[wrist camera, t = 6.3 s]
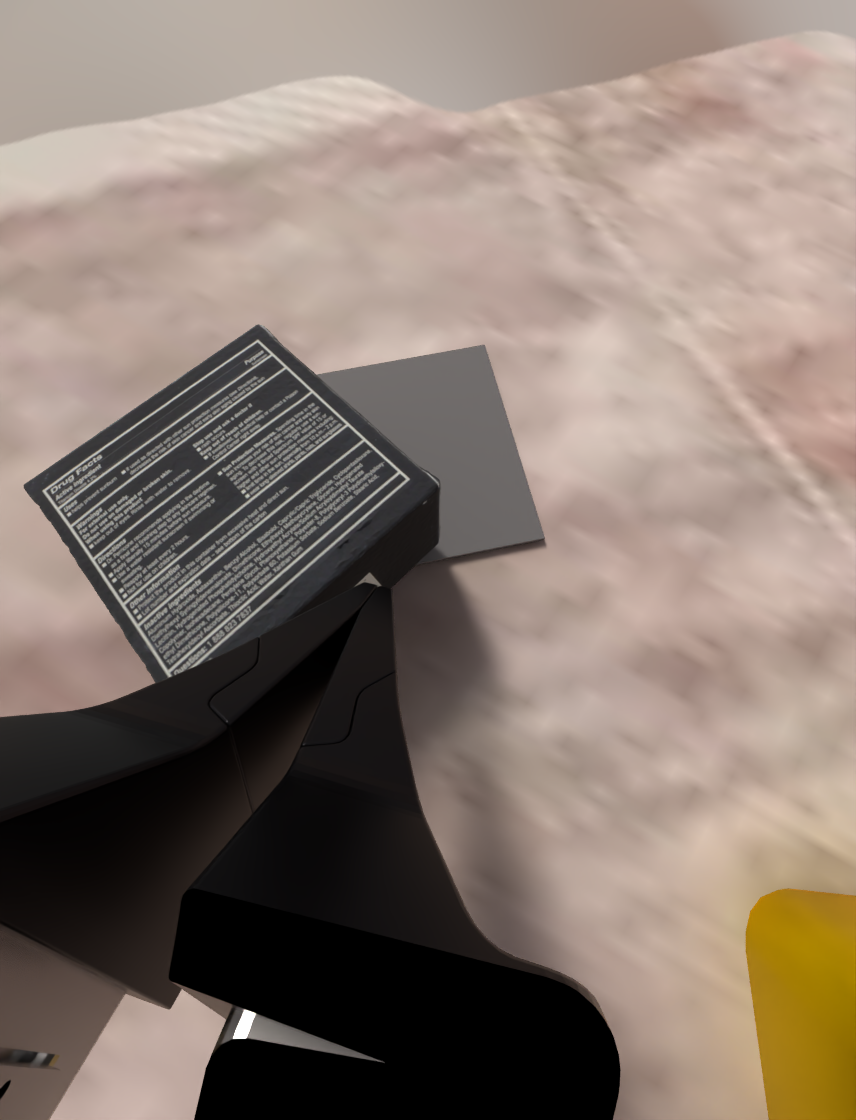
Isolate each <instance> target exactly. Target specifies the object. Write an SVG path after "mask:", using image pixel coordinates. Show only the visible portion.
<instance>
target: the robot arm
mask: <svg viewBox="0 0 856 1120" xmlns="http://www.w3.org/2000/svg"><path fill="white" fill-rule="evenodd" d="M396 673H397V668H396V649H395V630H394V610H393V591H392V589H391V588H388V587H384V586H377V585H375V584H371V583H367V582H363V583H361V584H359V585H357V586H355V587H353V588H351V589H349V590H347V591H345V592H344V593H342V594H340V595H338V596H336V597H334V598H332V599H330V600H328V601H326V602H324V603H322V604H320V605H318V606H316V607H314V608H312V609H310V610H309V611H307V612H305V613H303V614H301V615H299V616H297V617H295V618H293V619H291V620H289V621H287V622H285V623H283V624H281V625H279V626H277V627H275V628H274V629H272V630H270V631H268V632H266V633H264V634H262V635H260V638H259V637H256V638H254V639H252V640H250V641H248V642H246V643H244V644H242V645H240V646H238V647H236V648H234V649H232V650H230V651H228V652H226V653H224V654H222V655H220V656H217V657H215V658H213V659H211V660H208V661H206V662H204V663H201V664H199V665H197V666H195V667H192V668H190V669H188V670H185V671H183V672H181V673H178V674H176V675H173V676H171V677H169V678H166V679H164V680H162V681H159V682H157V683H155V684H152V685H150V686H147V687H145V688H143V689H140V690H138V691H136V692H133V693H131V694H129V695H126V696H124V697H121V698H119V699H116V700H113V701H110V702H107V703H104V704H101V705H97V706H93V707H89V708H85V709H79V710H74V711H66V712H55V713H43V714H31V715H19V716H7V717H0V1120H50V1118H51V1116H52V1115H53V1113H54V1111H55V1110H56V1108H57V1106H58V1105H59V1103H60V1101H61V1100H62V1098H63V1096H64V1095H65V1093H66V1091H67V1090H68V1088H69V1086H70V1085H71V1083H72V1081H73V1080H74V1078H75V1076H76V1075H77V1073H78V1072H79V1070H80V1068H81V1067H82V1065H83V1063H84V1062H85V1060H86V1058H87V1057H88V1055H89V1053H90V1052H91V1050H92V1048H93V1047H94V1045H95V1043H96V1042H97V1040H98V1038H99V1037H100V1035H101V1033H102V1032H103V1030H104V1028H105V1027H106V1025H107V1023H108V1022H109V1020H110V1019H111V1017H112V1015H113V1014H114V1012H115V1010H116V1009H117V1007H118V1005H119V1004H120V1002H121V1000H122V999H123V997H124V995H125V994H128V995H131V996H133V997H136V998H139V999H141V1000H144V1001H147V1002H150V1003H152V1004H155V1005H158V1006H160V1007H163V1008H166V1009H171V1007H172V1005H173V1004H174V1002H175V1000H176V998H177V997H178V995H179V993H180V991H181V989H183V990H184V991H186V992H187V993H189V994H190V995H192V996H193V997H194V998H196V999H197V1000H199V1001H200V1002H202V1003H203V1004H205V1005H206V1006H208V1007H209V1008H210V1009H212V1010H213V1011H215V1012H216V1013H218V1014H219V1015H221V1016H222V1017H224V1018H225V1019H226V1022H225V1024H224V1027H223V1029H222V1031H221V1034H220V1036H219V1039H218V1041H217V1043H216V1046H215V1048H214V1050H213V1053H212V1055H211V1058H210V1060H209V1062H208V1065H207V1067H206V1071H205V1075H204V1079H203V1084H202V1088H201V1092H200V1097H199V1101H198V1105H197V1110H196V1114H195V1118H194V1120H613V1116H614V1112H615V1108H616V1103H617V1099H618V1094H619V1086H620V1061H619V1054H618V1051H617V1047H616V1044H615V1040H614V1037H613V1035H612V1032H611V1030H610V1028H609V1026H608V1023H607V1021H606V1019H605V1017H604V1015H603V1012H602V1010H601V1008H600V1006H599V1004H598V1002H597V1000H596V999H595V997H594V996H593V995H592V994H591V992H589V991H588V990H587V989H586V988H585V987H584V986H583V985H581V984H580V983H578V982H577V981H575V980H574V979H572V978H570V977H568V976H566V975H564V974H562V973H560V972H558V971H555V970H552V969H550V968H547V967H544V966H541V965H538V964H535V963H532V962H529V961H526V960H523V959H520V958H517V957H514V956H512V955H510V954H508V953H506V952H504V951H503V950H501V949H499V948H498V947H497V946H496V945H494V944H493V943H492V942H491V941H489V940H488V939H487V938H486V937H485V936H484V934H483V933H482V932H481V931H480V930H479V929H478V927H477V926H476V925H475V923H474V922H473V920H472V918H471V916H470V915H469V913H468V911H467V909H466V907H465V905H464V903H463V900H462V898H461V896H460V894H459V891H458V889H457V887H456V885H455V883H454V880H453V878H452V876H451V874H450V872H449V869H448V867H447V865H446V863H445V860H444V858H443V856H442V854H441V852H440V849H439V847H438V845H437V843H436V841H435V838H434V836H433V834H432V832H431V829H430V827H429V825H428V823H427V821H426V818H425V815H424V813H423V810H422V806H421V803H420V800H419V796H418V792H417V788H416V784H415V780H414V775H413V771H412V766H411V761H410V757H409V752H408V747H407V743H406V738H405V733H404V729H403V723H402V718H401V712H400V706H399V696H398V685H397V674H396Z"/></svg>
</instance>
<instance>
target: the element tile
mask: <svg viewBox="0 0 856 1120" xmlns="http://www.w3.org/2000/svg"><path fill="white" fill-rule="evenodd" d="M746 956H747V963H748V971H749V978H750V985H751V993H752V1000H753V1007H754V1015H755V1022H756V1029H757V1037H758V1044H759V1051H760V1059H761V1066H762V1073H763V1080H764V1088H765V1095H766V1102H767V1110H768V1117H769V1120H856V896H853V895H843V894H834V893H825V892H816V891H806V890H797V889H782V890H777V891H774V892H772V893H770V894H767V895H765V896H763V897H761V898H760V899H759V900H758V902H757V903H756V904H755V906H754V907H753V908H752V910H751V911H750V915H749V919H748V924H747V928H746Z"/></svg>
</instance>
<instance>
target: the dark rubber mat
mask: <svg viewBox="0 0 856 1120" xmlns="http://www.w3.org/2000/svg"><path fill="white" fill-rule="evenodd" d="M317 376H318V377H319V378H320V379H321V380H322V381H324V382H325V383H326V384H327V385H328V386H329V387H330V388H331V389H332V390H334V391H335V392H336V393H337V394H338V395H339V396H340V397H341V398H343V399H344V400H345V401H346V402H347V403H349V404H350V405H351V406H352V407H353V408H354V409H356V410H357V411H358V412H359V413H360V414H361V415H362V416H363V417H365V418H366V419H367V420H368V421H369V422H370V423H371V424H372V425H373V426H374V427H376V428H377V429H378V430H379V431H380V432H381V433H382V434H383V435H384V436H386V437H387V438H388V439H389V440H390V441H391V442H392V443H393V444H394V445H395V446H397V447H398V448H399V449H400V450H401V451H402V452H404V453H405V454H406V455H407V456H408V457H409V458H410V459H411V460H412V461H413V462H415V463H416V464H417V465H418V466H420V467H421V468H423V469H424V470H427V471H429V472H430V473H431V474H432V475H434V476H436V477H437V478H438V479H439V480H440V484H441V490H440V492H441V494H440V527H441V528H440V538H439V543H438V544H437V545H436V546H435V547H434V548H433V549H432V550H431V551H430V552H429V553H428V554H427V555H426V556H424V557H423V558H422V559H421V560H420V561H419V562H418V563H417V564H416V565H419V564H424V563H429V562H434V561H439V560H444V559H449V558H454V557H459V556H464V555H469V554H474V553H479V552H484V551H489V550H494V549H499V548H505V547H510V546H515V545H520V544H525V543H530V542H535V541H540V540H543V539H544V538H545V537H544V534H543V531H542V528H541V524H540V521H539V518H538V515H537V511H536V508H535V505H534V502H533V499H532V495H531V492H530V489H529V486H528V483H527V479H526V476H525V473H524V470H523V466H522V463H521V460H520V457H519V454H518V450H517V447H516V444H515V441H514V438H513V434H512V431H511V428H510V425H509V421H508V418H507V415H506V412H505V409H504V405H503V402H502V399H501V396H500V393H499V389H498V386H497V383H496V380H495V376H494V373H493V370H492V367H491V364H490V360H489V357H488V354H487V351H486V348H485V345H480V346H475V347H469V348H463V349H458V350H452V351H447V352H441V353H435V354H430V355H424V356H419V357H413V358H407V359H402V360H396V361H391V362H385V363H379V364H374V365H368V366H363V367H357V368H351V369H346V370H340V371H335V372H329V373H323V374H318V375H317Z"/></svg>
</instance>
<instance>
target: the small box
mask: <svg viewBox="0 0 856 1120" xmlns="http://www.w3.org/2000/svg"><path fill="white" fill-rule="evenodd" d="M24 489H25V490H26V491H27V493H28V494H29V496H30V497H31V498H32V499H33V501H34V502H35V503H36V504H38V505H39V506H40V509H41V510H42V512H43V513H44V515H45V516H46V518H47V519H48V520H49V521H50V522H51V523H52V525H53V526H54V528H55V529H56V531H57V532H58V534H59V535H60V537H61V539H62V541H63V542H64V543H65V544H66V545H67V546H68V547H69V550H70V553H71V554H72V555H73V557H74V558H75V560H76V562H77V564H78V566H79V567H80V568H81V570H82V571H83V573H84V574H85V575H86V577H87V578H88V580H89V581H90V583H91V584H92V586H93V587H94V589H95V591H96V592H97V594H98V595H99V597H100V598H101V600H102V601H103V602H104V604H105V605H106V607H107V609H108V610H109V612H110V613H111V615H112V616H113V618H114V619H115V621H116V622H117V623H118V624H119V625H120V627H121V629H122V630H123V632H124V634H125V637H126V638H127V640H128V641H129V643H130V644H131V646H132V647H133V649H134V650H135V652H136V653H137V654H138V655H139V657H140V658H141V660H142V661H143V662H144V663H145V665H146V668H147V670H148V672H149V673H150V674H151V676H152V678H153V679H154V681H155V683H157V682H159V681H162V680H164V679H166V678H169V677H171V676H173V675H176V674H178V673H181V672H183V671H185V670H188V669H190V668H192V667H195V666H197V665H199V664H201V663H204V662H206V661H208V660H211V659H213V658H215V657H217V656H220V655H222V654H224V653H226V652H228V651H230V650H232V649H234V648H236V647H238V646H240V645H242V644H244V643H246V642H248V641H250V640H252V639H254V638H256V637H259V638H260V635H262V634H264V633H266V632H268V631H270V630H272V629H274V628H275V627H277V626H279V625H281V624H283V623H285V622H287V621H289V620H291V619H293V618H295V617H297V616H299V615H301V614H303V613H305V612H307V611H309V610H310V609H312V608H314V607H316V606H318V605H320V604H322V603H324V602H326V601H328V600H330V599H332V598H334V597H336V596H338V595H340V594H342V593H344V592H345V591H347V590H349V589H351V588H353V587H355V586H357V585H359V584H361V583H363V582H367V583H371V584H375V585H377V586H384V587H388V588H391V587H393V586H394V585H395V584H396V583H397V582H398V581H399V580H400V579H401V578H402V577H403V576H404V575H405V574H406V573H407V572H408V571H410V570H411V569H412V568H413V567H414V566H415V565H416V564H417V563H418V562H419V561H420V560H421V559H422V558H423V557H424V556H426V555H427V554H428V553H429V552H430V551H431V550H432V549H433V548H434V547H435V546H436V545H437V544H438V543H439V538H440V528H441V527H440V494H441V492H440V490H441V484H440V480H439V479H438V478H437V477H436V476H434V475H432V474H431V473H430V472H429V471H427V470H424V469H423V468H421V467H420V466H418V465H417V464H416V463H415V462H413V461H412V460H411V459H410V458H409V457H408V456H407V455H406V454H405V453H404V452H402V451H401V450H400V449H399V448H398V447H397V446H395V445H394V444H393V443H392V442H391V441H390V440H389V439H388V438H387V437H386V436H384V435H383V434H382V433H381V432H380V431H379V430H378V429H377V428H376V427H374V426H373V425H372V424H371V423H370V422H369V421H368V420H367V419H366V418H365V417H363V416H362V415H361V414H360V413H359V412H358V411H357V410H356V409H354V408H353V407H352V406H351V405H350V404H349V403H347V402H346V401H345V400H344V399H343V398H341V397H340V396H339V395H338V394H337V393H336V392H335V391H334V390H332V389H331V388H330V387H329V386H328V385H327V384H326V383H325V382H324V381H322V380H321V379H320V378H319V377H318V376H317V375H316V374H315V373H314V372H313V371H311V370H310V369H309V368H308V367H307V366H305V365H304V364H303V363H302V362H301V361H300V360H299V359H298V358H296V357H295V356H294V355H293V354H292V353H291V352H290V351H289V350H287V349H286V348H285V347H284V346H283V345H282V344H281V343H280V342H279V341H278V340H277V339H276V338H275V337H274V336H273V335H272V334H271V332H270V331H269V330H268V329H267V328H265V327H264V326H262V325H256V326H254V327H253V328H251V329H250V330H249V331H247V332H246V333H244V334H243V335H242V336H240V337H239V338H237V339H236V340H234V341H233V342H231V343H230V344H228V345H227V346H225V347H224V348H222V349H221V350H220V351H218V352H217V353H215V354H214V355H212V356H211V357H209V358H208V359H206V360H205V361H204V362H202V363H201V364H199V365H198V366H196V367H195V368H193V369H192V370H190V371H189V372H187V373H186V374H184V375H183V376H181V377H180V378H178V379H177V380H176V381H174V382H173V383H171V384H170V385H169V386H167V387H166V388H164V389H163V390H161V391H160V392H158V393H157V394H155V395H154V396H152V397H151V398H150V399H148V400H147V401H145V402H144V403H142V404H141V405H139V406H138V407H136V408H135V409H133V410H132V411H131V412H129V413H128V414H126V415H125V416H123V417H122V418H120V419H119V420H117V421H116V422H114V423H113V424H112V425H110V426H109V427H107V428H106V429H104V430H103V431H101V432H100V433H98V434H97V435H96V436H94V437H93V438H91V439H90V440H88V441H87V442H85V443H84V444H82V445H81V446H79V447H78V448H77V449H75V450H74V451H72V452H71V453H69V454H68V455H66V456H65V457H63V458H62V459H61V460H59V461H58V462H56V463H55V464H53V465H52V466H50V467H49V468H48V469H46V470H45V471H43V472H42V473H40V474H39V475H37V476H36V477H35V478H33V479H32V480H30V481H29V482H27V483H26V484H24Z"/></svg>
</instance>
